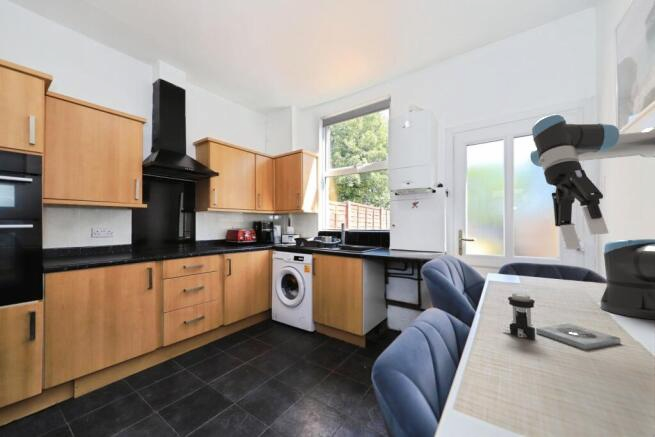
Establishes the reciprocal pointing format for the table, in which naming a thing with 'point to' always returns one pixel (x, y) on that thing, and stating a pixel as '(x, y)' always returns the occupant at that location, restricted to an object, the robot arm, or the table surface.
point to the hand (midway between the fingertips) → (585, 241)
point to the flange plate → (578, 336)
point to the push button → (521, 316)
